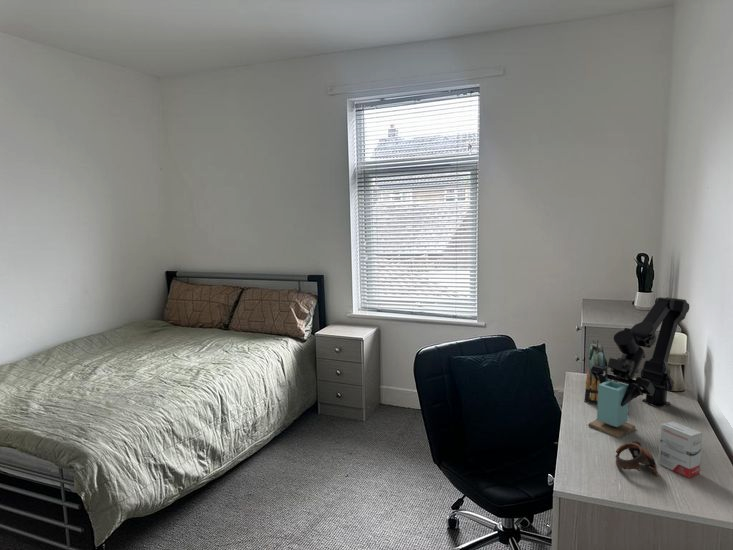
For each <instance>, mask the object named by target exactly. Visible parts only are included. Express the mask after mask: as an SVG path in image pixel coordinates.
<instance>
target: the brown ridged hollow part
mask: <svg viewBox="0 0 733 550" xmlns="http://www.w3.org/2000/svg"><path fill="white" fill-rule="evenodd" d="M627 449H628V451H629V453H630V454H631V457H632V458H631V459H622V458H621V457H620V455H621V453H623V452H624V451H625V450H627ZM615 453H616V454H615V464H616V467H617V468H620V469H623V470H627V471H628V470H630V471H631V470H636V471H638V472H640V471H641V470H640V464H641V465H644V467H648V468H652V469H653V472H654V475H655V477H658V475H659V474H658V473H659V472H658V470H657V469H658V467H657V463H656V460H655V459H654V456H653V455H652V453H650V451H649V450H648V449H646V448H644V447H642V444H641V443H640V442H639V440H632V441H631V442H627V443H624V444H621V445H620V446H619V447H617V449H616V451H615Z"/></svg>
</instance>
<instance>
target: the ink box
mask: <svg viewBox="0 0 733 550" xmlns="http://www.w3.org/2000/svg"><path fill="white" fill-rule="evenodd" d="M659 432H660V433H659V445H658V446H659V448H658V462H657V463H658V464H659V465H660V466H662V467H665V468H667V469H669V470H671V471H673V472H675V473H677V474H679V475H681V476H683V477H686V478H687V479H691V478H693V477H695V476H697V475H699V474H700V471H701V470H700V469H701V468H700V466H701V459H702V458H701V457H702V445H703V432H701V431H699V430H696V429H693V428H690V427H689V426H688V427H687V426H685V425H682V424H680V423H677V422H676V421H672V420H670V421H667V422H664V423H661V424H660V430H659Z"/></svg>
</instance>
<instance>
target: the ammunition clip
mask: <svg viewBox="0 0 733 550" xmlns="http://www.w3.org/2000/svg"><path fill="white" fill-rule="evenodd" d="M609 380H611V379H609ZM611 381H613V380H611ZM615 382H618V381H615ZM599 384H600V381H598V380H597V385H596V379H595V378H594V377H593V375H592V381H590V369H588V370H587V372H586V379H585V388H584V389H585V390H584V391H585V392H584V403H587V402H589V403H588V404H593V403H594V404H593V405H598V385H599Z"/></svg>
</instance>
